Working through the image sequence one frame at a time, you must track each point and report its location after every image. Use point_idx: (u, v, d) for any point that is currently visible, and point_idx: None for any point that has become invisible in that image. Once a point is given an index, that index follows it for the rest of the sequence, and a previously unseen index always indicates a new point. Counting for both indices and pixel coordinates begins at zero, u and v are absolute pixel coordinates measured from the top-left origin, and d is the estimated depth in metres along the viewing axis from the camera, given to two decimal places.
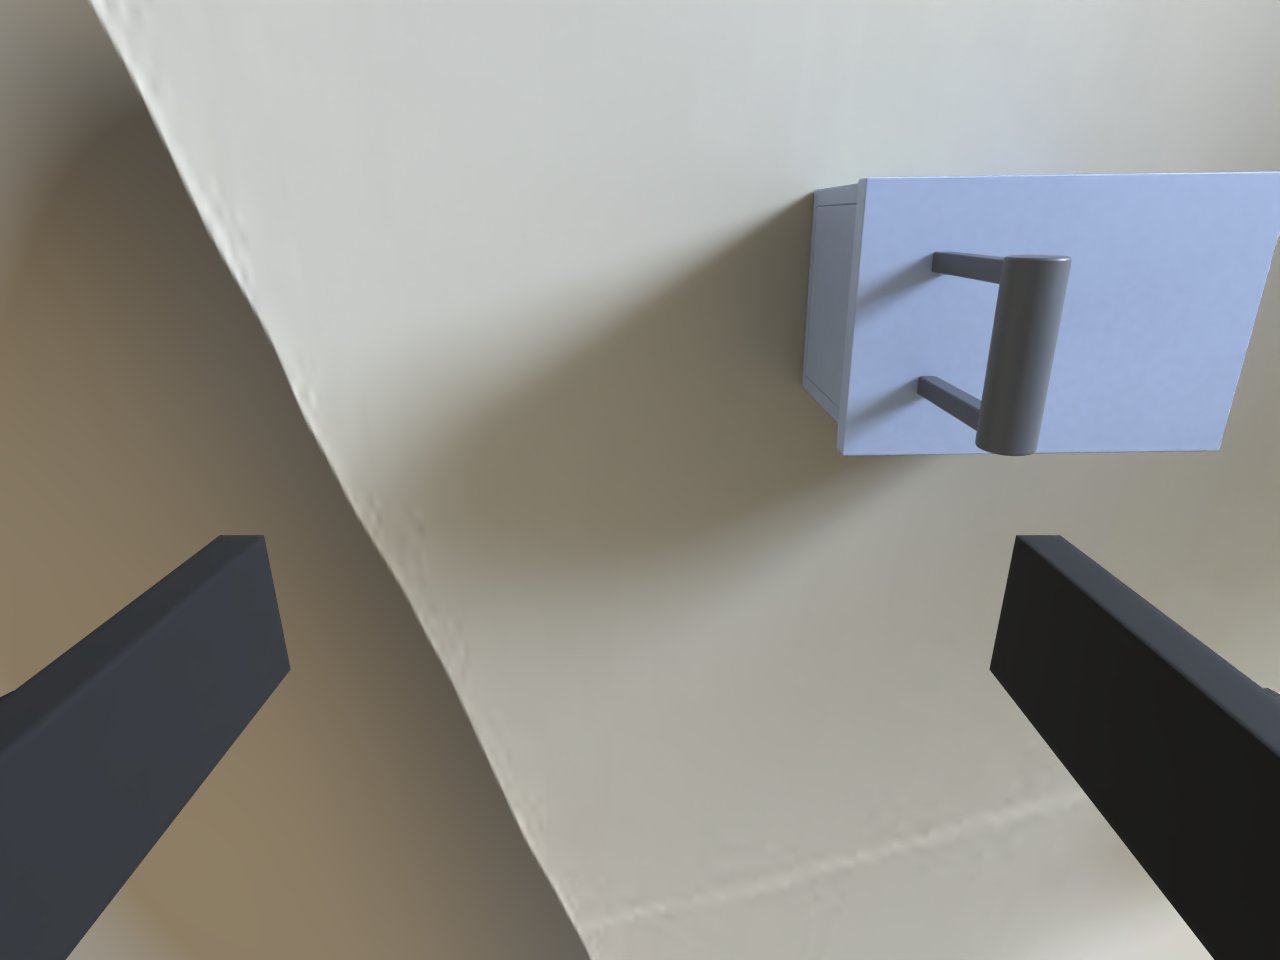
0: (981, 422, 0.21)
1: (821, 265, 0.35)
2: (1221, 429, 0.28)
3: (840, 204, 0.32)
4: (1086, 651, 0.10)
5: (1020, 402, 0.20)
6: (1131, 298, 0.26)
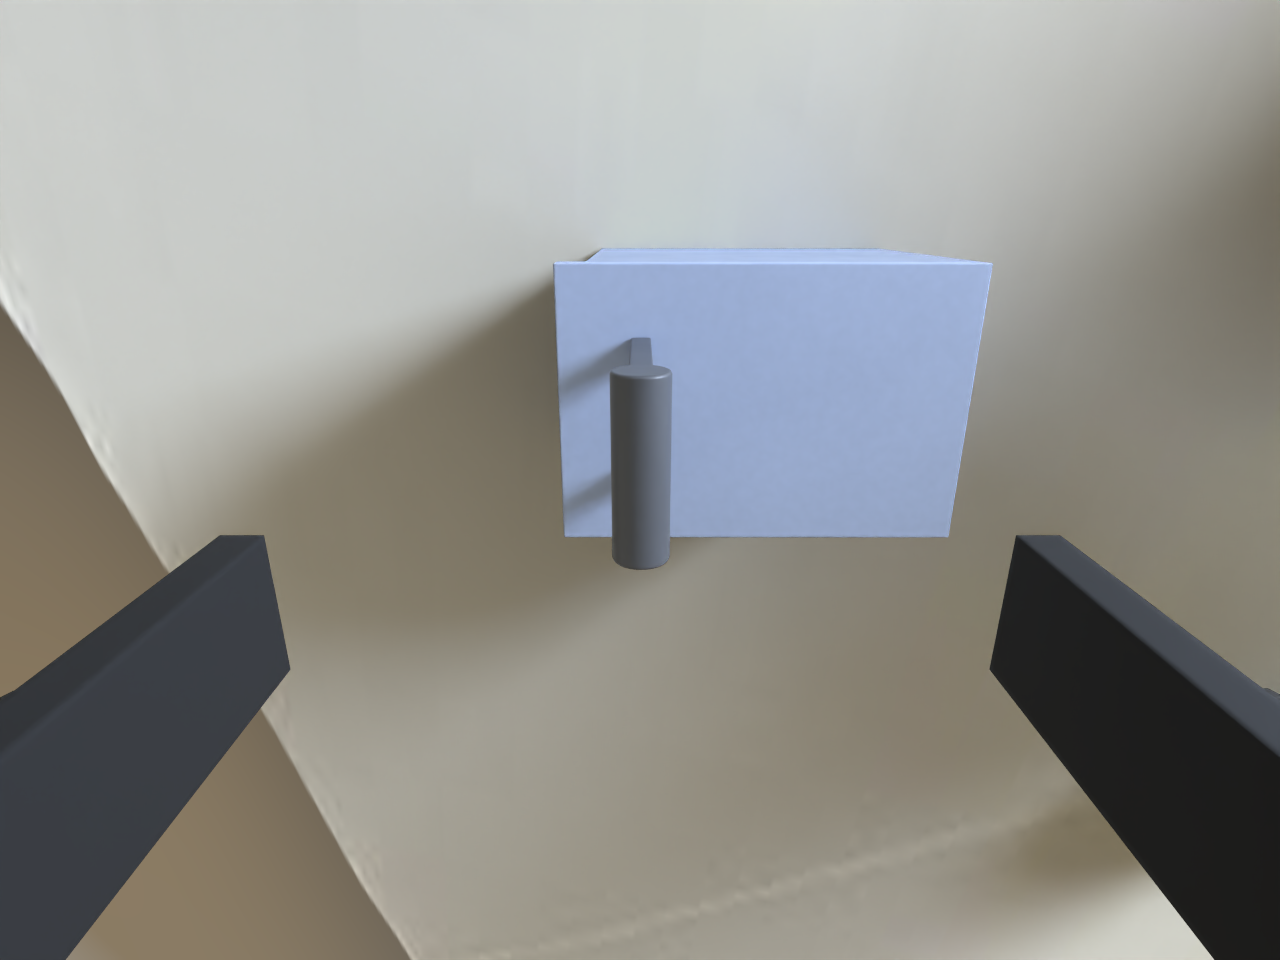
0: (612, 532, 0.20)
1: None
2: (948, 516, 0.27)
3: None
4: (1086, 650, 0.10)
5: (633, 517, 0.19)
6: (839, 385, 0.26)
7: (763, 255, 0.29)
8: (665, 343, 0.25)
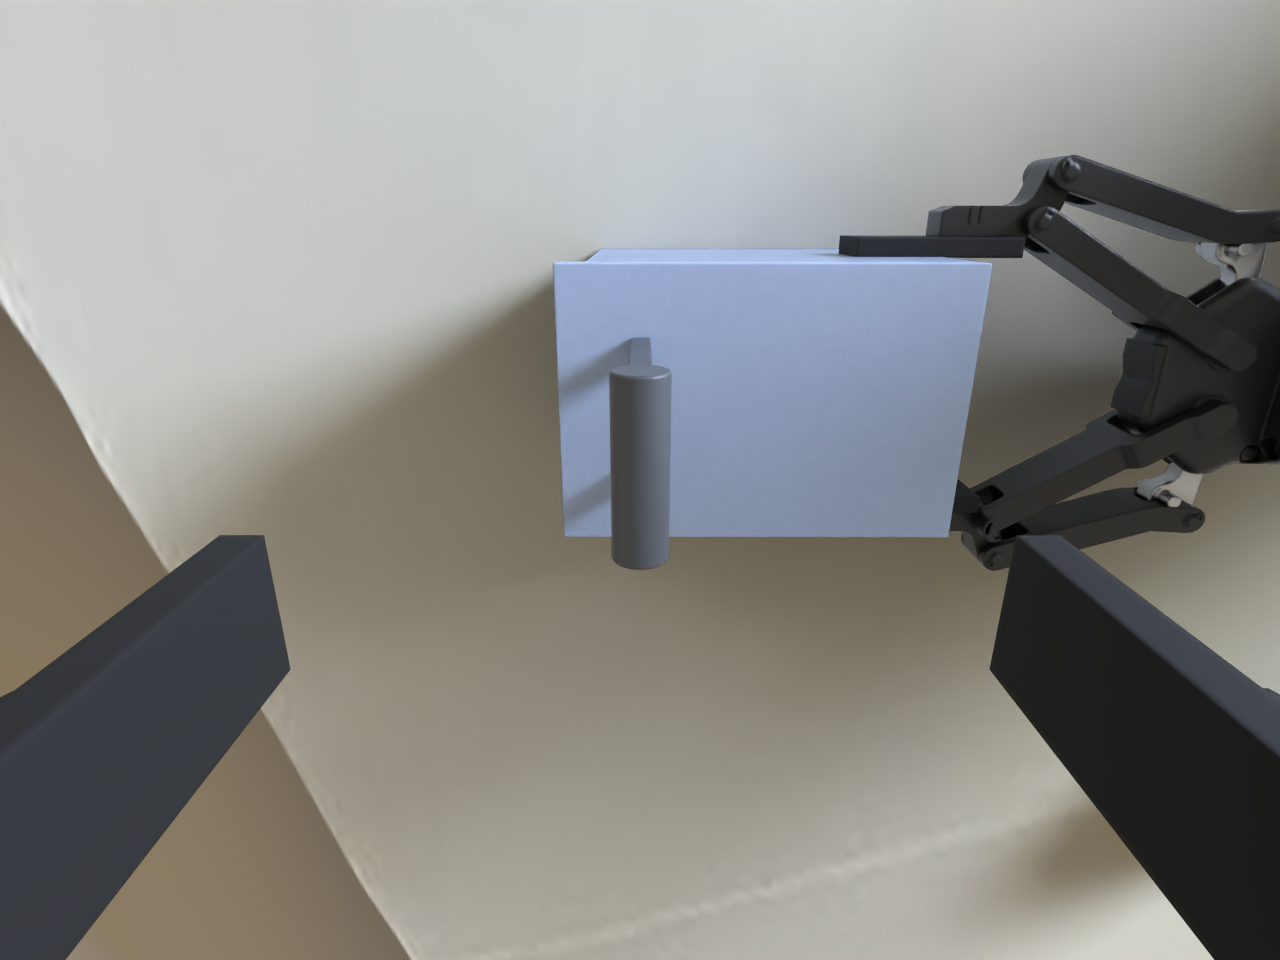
0: (611, 532, 0.20)
1: None
2: (947, 516, 0.27)
3: None
4: (1086, 650, 0.10)
5: (632, 517, 0.19)
6: (839, 385, 0.26)
7: (763, 255, 0.29)
8: (665, 343, 0.25)
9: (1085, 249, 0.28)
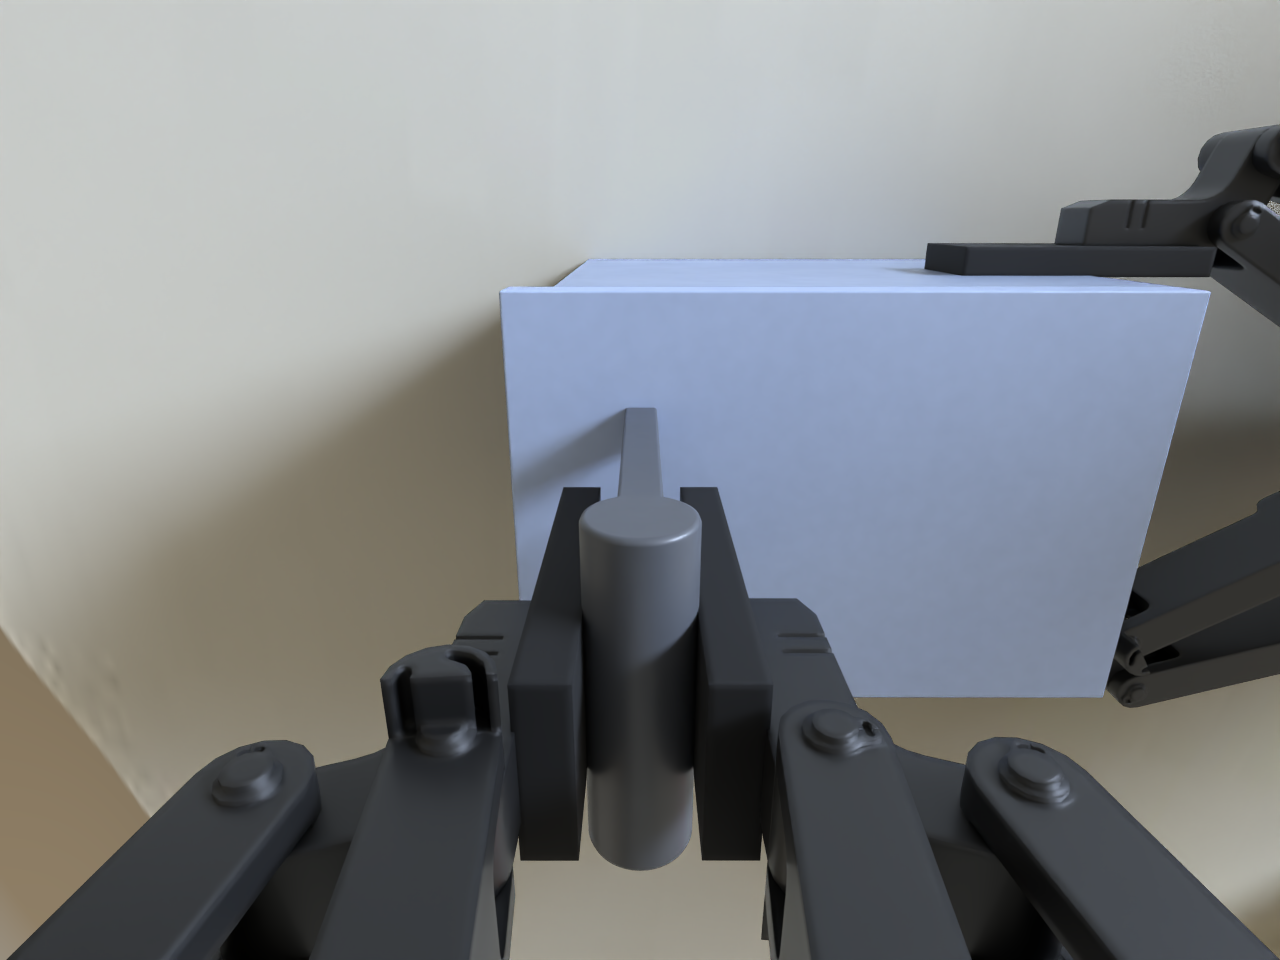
0: (587, 789, 0.11)
1: None
2: (1105, 668, 0.18)
3: None
4: None
5: (626, 787, 0.10)
6: (951, 480, 0.16)
7: (820, 272, 0.20)
8: (680, 416, 0.16)
9: None
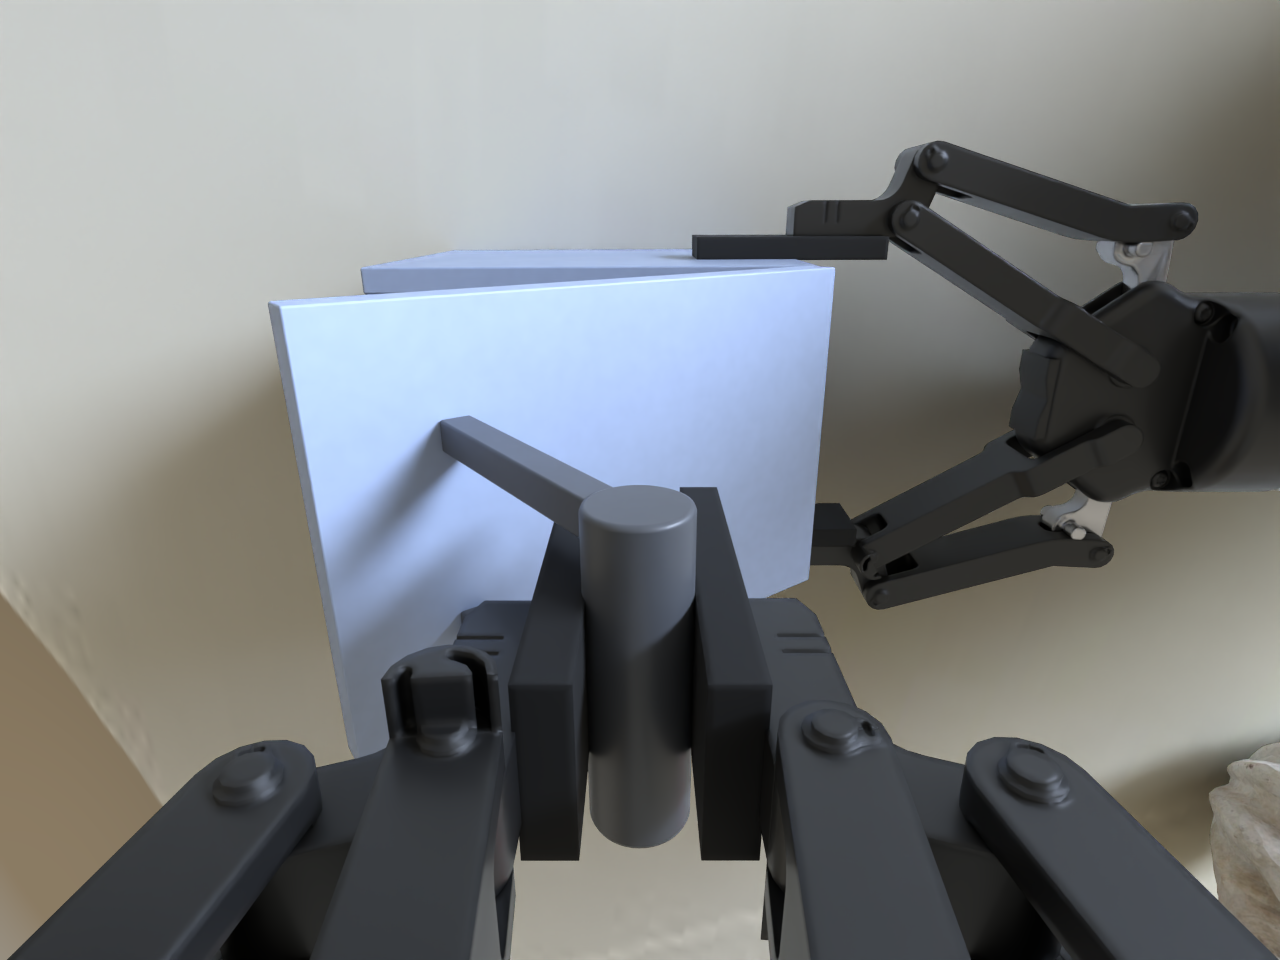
0: (597, 794, 0.11)
1: None
2: (807, 556, 0.24)
3: None
4: None
5: (660, 765, 0.11)
6: (707, 436, 0.19)
7: (598, 258, 0.26)
8: (493, 419, 0.15)
9: (959, 249, 0.24)
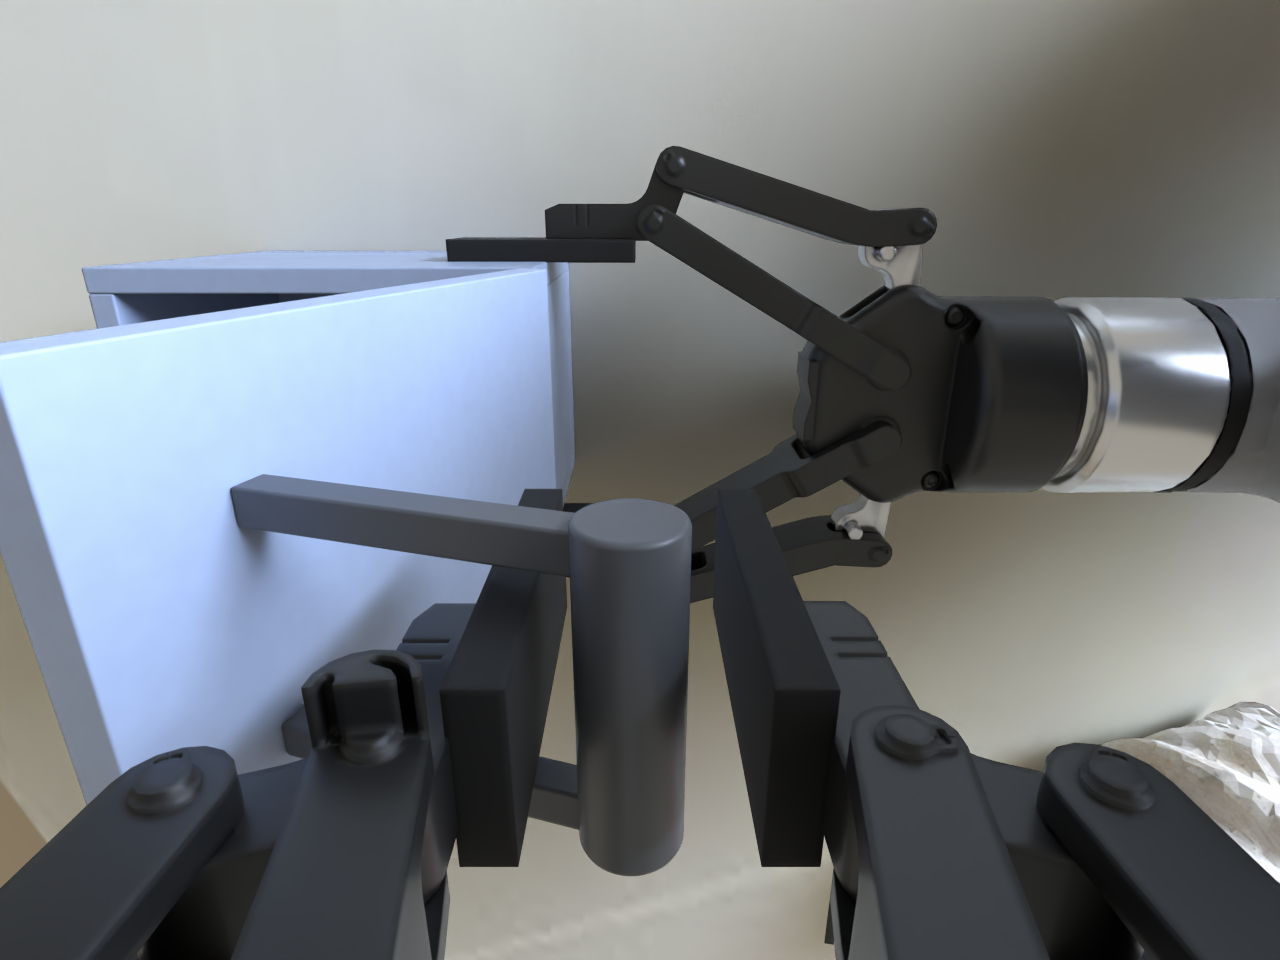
0: (615, 835, 0.10)
1: None
2: None
3: None
4: (729, 577, 0.12)
5: (678, 773, 0.10)
6: (477, 451, 0.18)
7: (360, 259, 0.26)
8: (288, 474, 0.12)
9: (707, 253, 0.25)
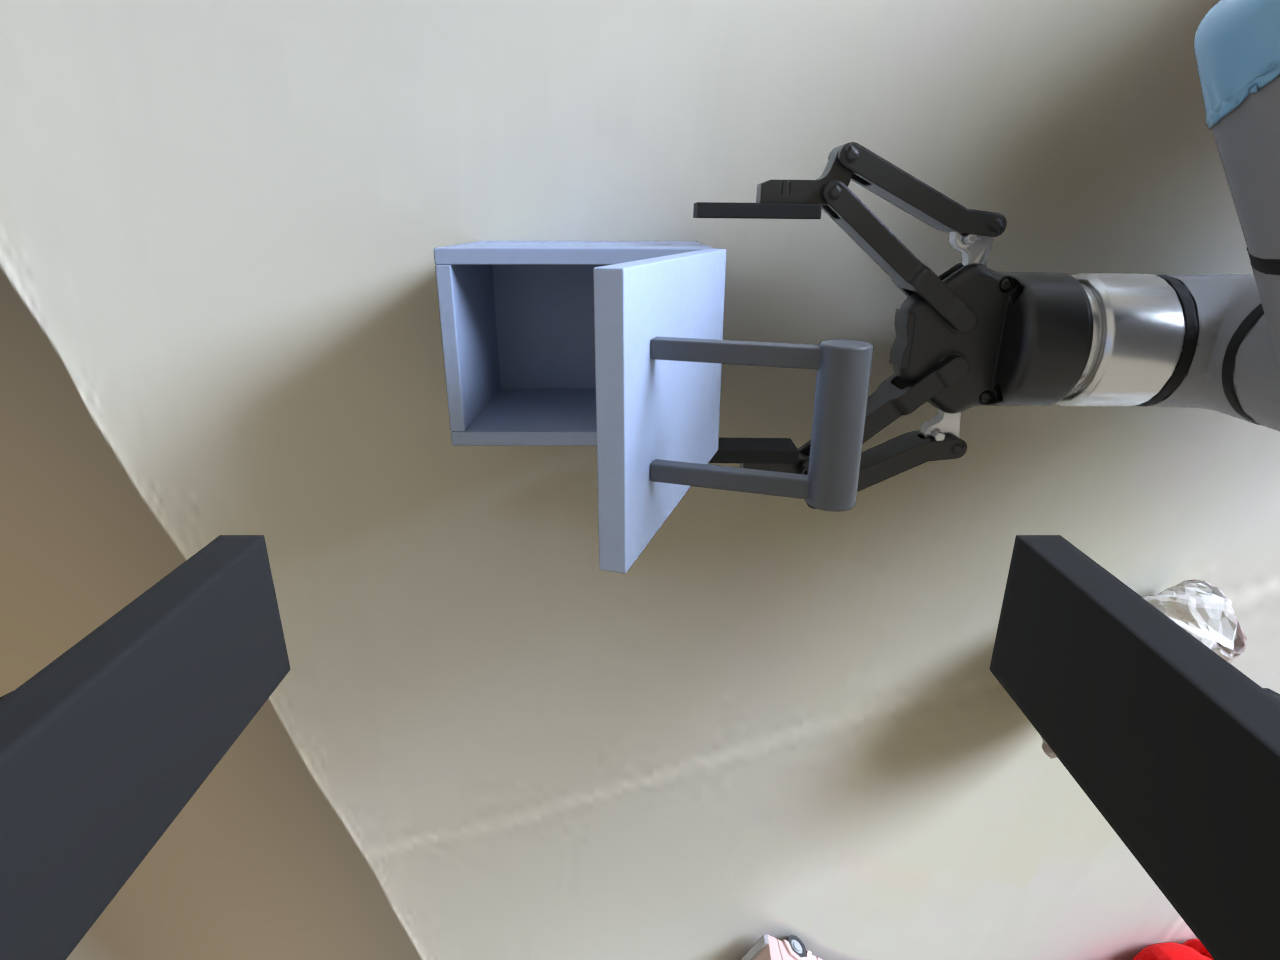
0: (831, 489, 0.24)
1: None
2: (718, 434, 0.37)
3: None
4: (1086, 651, 0.10)
5: (859, 463, 0.24)
6: None
7: None
8: None
9: (863, 219, 0.38)
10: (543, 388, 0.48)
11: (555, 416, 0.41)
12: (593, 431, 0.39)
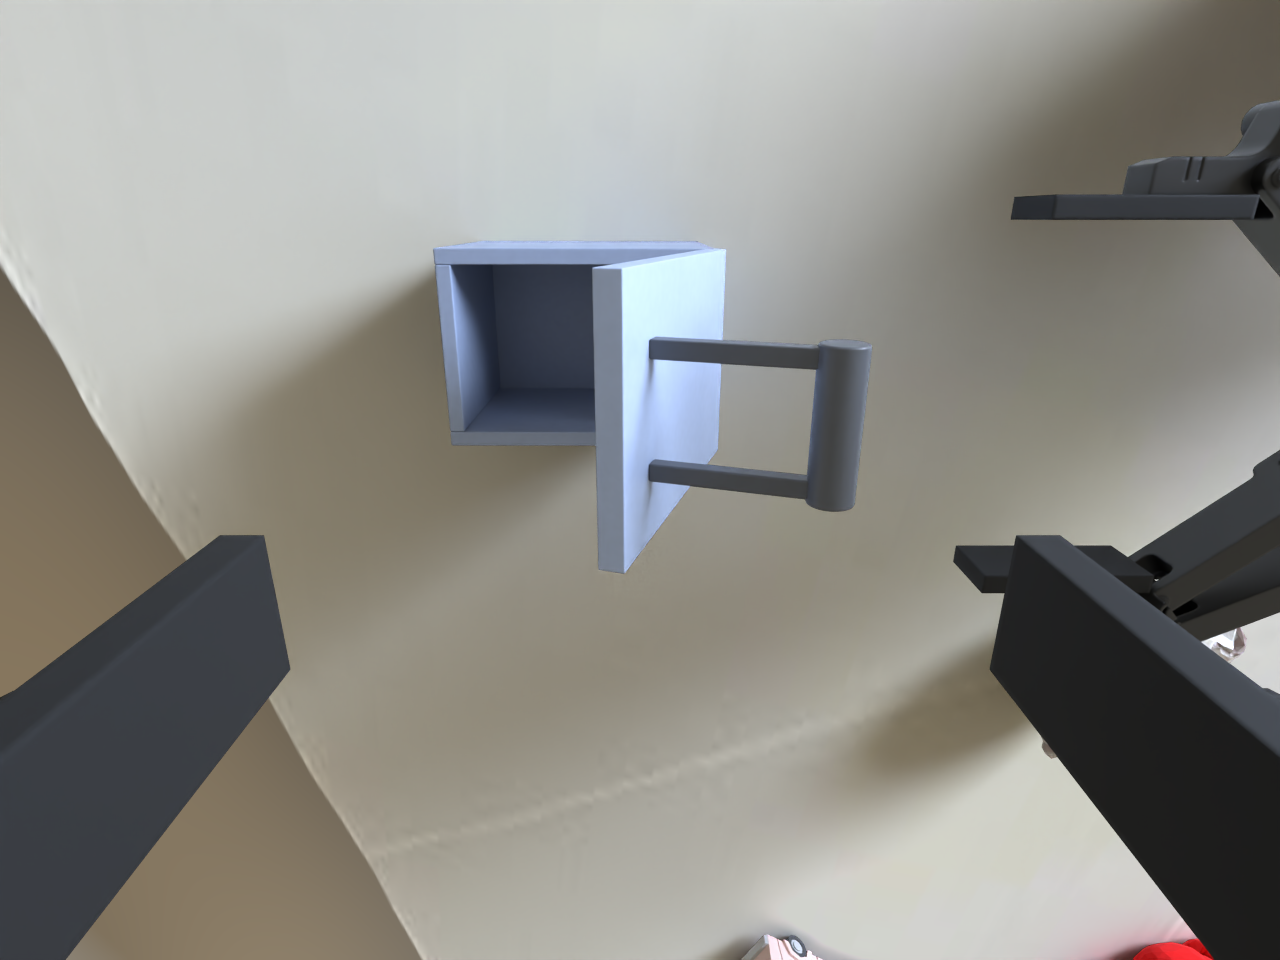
0: (830, 489, 0.24)
1: None
2: (717, 434, 0.37)
3: None
4: (1086, 651, 0.10)
5: (858, 463, 0.24)
6: None
7: None
8: None
9: None
10: (543, 388, 0.48)
11: (555, 416, 0.41)
12: (593, 431, 0.39)
